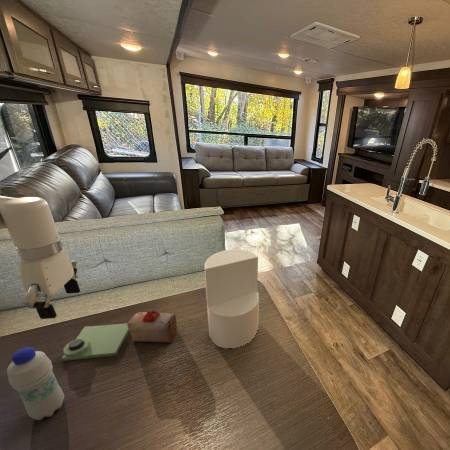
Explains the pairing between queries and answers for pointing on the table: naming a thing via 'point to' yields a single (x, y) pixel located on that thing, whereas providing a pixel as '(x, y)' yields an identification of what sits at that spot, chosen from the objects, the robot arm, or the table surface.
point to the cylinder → (232, 297)
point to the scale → (98, 342)
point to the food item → (153, 327)
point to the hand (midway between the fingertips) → (62, 304)
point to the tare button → (76, 344)
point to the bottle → (35, 382)
